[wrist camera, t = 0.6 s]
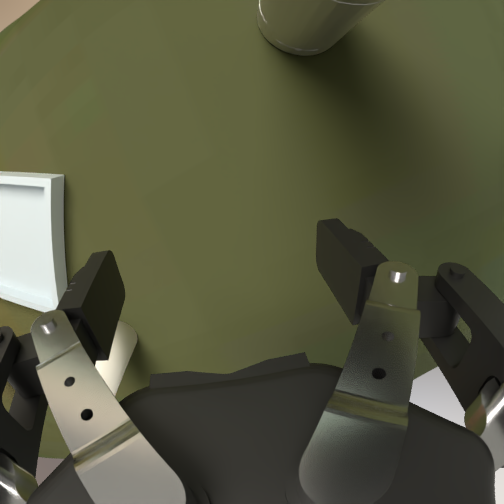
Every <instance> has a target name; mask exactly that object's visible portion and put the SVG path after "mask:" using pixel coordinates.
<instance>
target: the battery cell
mask: <svg viewBox="0 0 504 504" xmlns="http://www.w3.org/2000/svg"><path fill="white" fill-rule="evenodd" d="M137 341H138V337H137V334H136V332H135V330H134V329H133V328H132V327H131V326H130V325H129V324H127V323H125V322H122V321H118V325H117V328H116V332H115V336H114V340H113V344H112V348H111V352H110V356H109V360H106V361H96V364H95V367H96V369H97V370H98V372H99V373H100V375H101V377H102V378H103V380H104V381H105V383H106V384H107V386H108V387H109V389H110V390H111V392H112V393H113V395H114V396H115V394H116V392H117V389H118V387H119V384H120V382H121V379H122V377H123V374H124V372H125V370H126V367H127V365H128V362H129V360H130V358H131V355H132V353H133V351H134V348H135V346H136V344H137Z"/></svg>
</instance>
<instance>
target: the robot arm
mask: <svg viewBox="0 0 504 504" xmlns="http://www.w3.org/2000/svg"><path fill="white" fill-rule="evenodd" d="M383 1H385V0H259V6H258V12H257V22H258V26H259V29H260V31H261V32H262V34H263V36H264V37H265V38H266V39H267V40H268V41H269V42H270V43H271V44H273V45H274V46H275V47H277V48H279V49H281V50H282V51H284V52H288V53H291V54H294V55H301V56H307V55H315V54H320V53H322V52H324V51H326V50H328V49H329V48H330V47H332V46H333V45H334V44H335V43H336V42H337V41H338V40H340V39H341V38H342V37H343V36H344V35H345V34H346V33H347V32H349V31H350V30H351V29H352V28H353V27H354V26H355V25H356V24H358V23H359V22H360V21H361V20H362V19H363V18H364V17H366V16H367V15H368V14H369V13H370V12H371V11H373V10H374V9H375V8H376V7H377V6H379V5H380V4H381V3H382V2H383ZM316 262H317V266H318V270H319V272H320V273H321V275H322V277H323V278H324V280H325V281H326V283H327V284H328V286H329V288H330V289H331V291H332V292H333V294H334V296H335V297H336V299H337V301H338V302H339V304H340V305H341V307H342V309H343V310H344V312H345V314H346V315H347V317H348V319H349V320H350V322H351V324H352V325H355V324H359V325H358V328H357V331H356V334H355V337H354V340H353V343H352V346H351V349H350V351H349V354H348V357H347V360H346V362H345V365H344V368H343V369H342V368H340V367H336V366H332V365H327V364H319V363H309V362H308V359H307V356H306V354H305V352H304V353H299V354H294V355H289V356H284V357H279V358H274V359H268V360H265V361H263V362H260V363H258V364H255V365H252V366H250V367H247V368H244V369H242V370H239V371H236V372H234V373H230V374H215V373H202V372H191V371H184V372H174V373H162V374H151V376H150V386H148V387H145V388H143V389H140V390H138V391H136V392H134V393H132V394H130V395H129V396H127V397H125V398H124V399H123V400H121V401H120V402H118V400H117V399H116V397H115V396H114V395H113V393H112V392H111V390H110V389H109V387H108V386H107V384H106V383H105V381H104V380H103V378H102V377H101V375H100V373H99V372H98V370H97V369H96V367H95V364H96V361H106V360H109V356H110V352H111V348H112V344H113V340H114V336H115V332H116V328H117V325H118V321H119V317H120V314H121V310H122V307H123V303H124V300H125V289H124V284H123V281H122V278H121V276H120V273H119V270H118V267H117V264H116V261H115V257H114V255H113V253H112V251H110V250H108V251H102V252H96V253H92V255H91V256H90V258H89V260H88V261H87V263H86V265H85V267H82V268H81V269H80V270H79V271H78V272H77V273H76V274H75V275H74V276H73V278H72V280H71V282H70V284H69V285H68V287H67V289H66V291H65V292H64V294H63V296H62V298H61V300H60V302H59V304H58V306H57V307H56V309H55V310H51V311H48V312H46V313H44V314H42V315H41V316H39V317H38V318H37V319H36V320H35V321H34V323H33V325H32V327H31V333H28V334H25V335H22V336H19V337H16V335H15V334H14V332H13V330H12V329H11V328H10V327H8V326H4V327H0V504H495V487H494V483H495V471H496V470H498V469H499V468H504V304H503V303H502V302H501V301H500V300H499V299H498V298H497V297H496V295H495V294H494V293H493V292H492V291H491V290H490V289H489V288H488V287H487V286H486V285H485V284H484V283H483V282H482V281H481V280H479V279H478V278H477V277H476V276H475V275H474V274H473V273H472V272H471V271H470V270H469V269H468V268H466V267H464V266H462V265H460V264H457V263H451V262H448V263H443V264H441V265H440V266H439V268H438V272H437V276H418V273H417V271H416V270H415V269H414V268H413V267H412V266H410V265H408V264H406V263H403V262H398V261H389V260H388V259H387V258H386V257H385V256H384V255H383V254H382V253H381V252H380V251H379V250H378V249H377V248H376V247H374V245H373V244H372V243H371V242H368V239H367V238H365V237H364V236H363V235H362V234H361V233H359V232H357V231H355V230H353V229H348V228H347V227H346V226H345V225H344V224H343V223H342V222H341V221H340V220H339V219H337V218H336V219H328V220H320V221H318V223H317V244H316ZM460 317H461V318H462V319H463V320H464V321H465V322H466V324H467V325H468V326H469V328H470V330H471V334H472V339H471V343H469V342H468V341H467V339H466V338H465V337H464V335H463V334H462V333H461V332H460V330H459V329H458V328H457V324H458V322H459V319H460ZM418 338H420V339H421V340H422V342H423V343H424V345H425V346H426V348H427V349H428V351H429V352H430V354H431V356H432V357H433V359H434V360H435V362H436V363H437V365H438V367H439V368H440V370H441V371H442V373H443V375H444V376H445V378H446V379H447V381H448V383H449V385H450V386H451V388H452V390H453V391H454V393H455V395H456V397H457V398H458V400H459V402H460V404H461V405H462V407H463V409H464V411H465V417H464V422H465V426H466V428H465V427H463V426H460V425H458V424H456V423H454V422H451V421H449V420H447V419H445V418H443V417H440V416H438V415H436V414H434V413H432V412H430V411H428V410H425V409H423V408H421V407H419V406H417V405H415V404H413V403H411V402H409V400H410V394H411V389H412V383H413V377H414V370H415V363H416V356H417V347H418ZM7 381H8V382H9V383H10V384H11V386H12V387H13V388H14V389H15V390H16V391H15V394H14V397H13V400H12V404H11V407H10V411H9V413H8V412H7V411H6V409H5V408H4V406H3V403H2V394H3V391H4V388H5V385H6V382H7ZM48 403H49V406H50V408H51V411H52V413H53V415H54V418H55V420H56V422H57V425H58V427H59V429H60V431H61V433H62V436H63V438H64V440H65V442H66V444H67V446H68V448H69V450H70V452H71V453H70V454H69V455H68V456H67V457H66V458H65V459H64V461H62V463H61V464H60V465H59V466H58V467H57V468H56V469H55V470H54V471H53V472H52V473H51V474H50V475H49V476H48V477H47V478H46V479H45V480H44V481H43V482H42V484H40V485H39V486H38V484H37V481H36V479H35V476H36V468H37V460H38V453H39V447H40V441H41V435H42V430H43V425H44V420H45V415H46V411H47V406H48Z"/></svg>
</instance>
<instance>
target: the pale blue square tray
mask: <svg viewBox="0 0 504 504" xmlns="http://www.w3.org/2000/svg"><path fill="white" fill-rule="evenodd" d="M67 287H68V284H67V274H66V262H65V246H64V175H59V174H44V173H26V172H2V171H0V298H2V299H5V300H8V301H11V302H14V303H17V304H20V305H23V306H26V307H29V308H32V309H36V310H39V311H42V312H45V313H46V312H48V311H51V310H55V309H56V307H57V306H58V304H59V302H60V300H61V298H62V296H63V294H64V292H65V291H66V289H67Z"/></svg>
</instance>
